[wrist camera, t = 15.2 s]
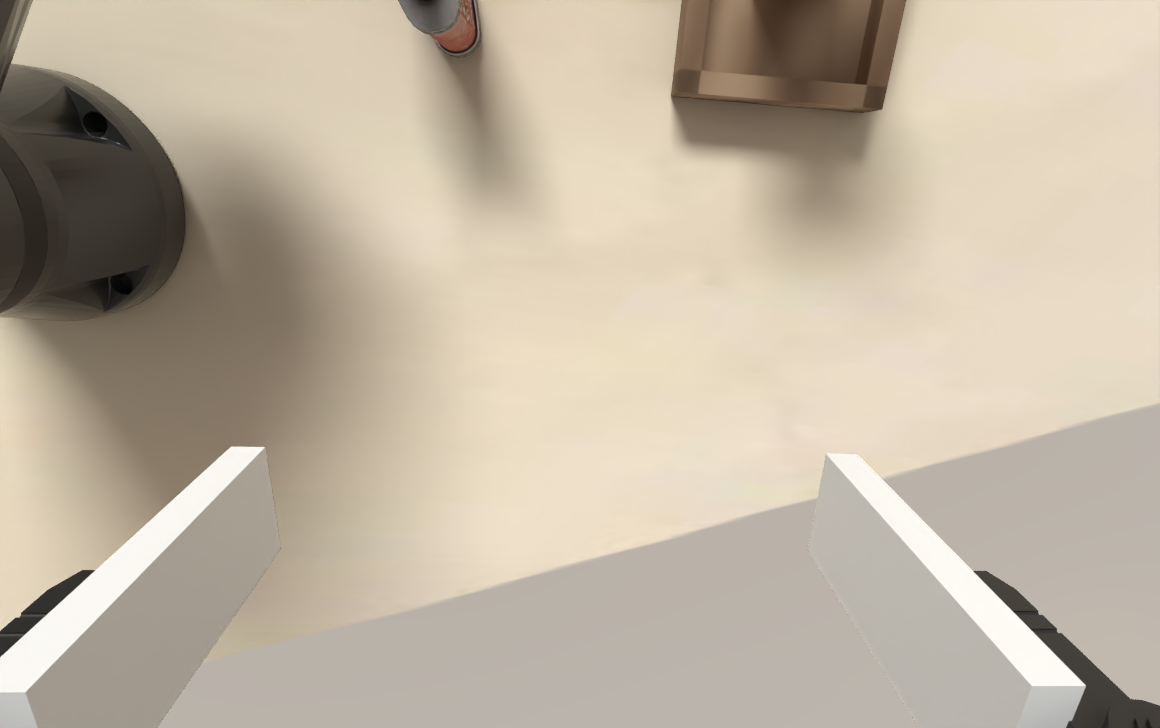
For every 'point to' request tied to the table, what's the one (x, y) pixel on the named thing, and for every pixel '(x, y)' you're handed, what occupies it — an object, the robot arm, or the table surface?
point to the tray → (788, 52)
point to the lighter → (447, 23)
